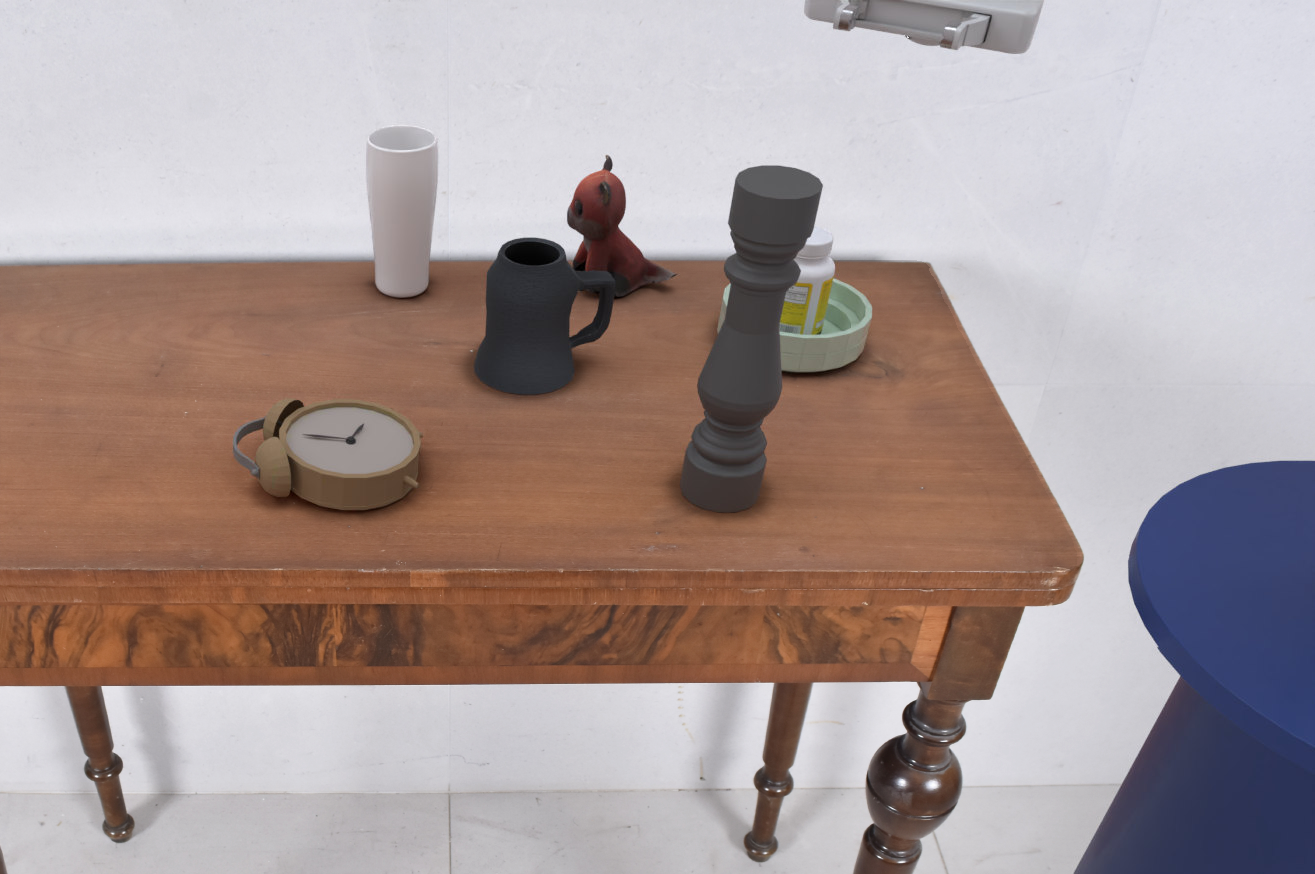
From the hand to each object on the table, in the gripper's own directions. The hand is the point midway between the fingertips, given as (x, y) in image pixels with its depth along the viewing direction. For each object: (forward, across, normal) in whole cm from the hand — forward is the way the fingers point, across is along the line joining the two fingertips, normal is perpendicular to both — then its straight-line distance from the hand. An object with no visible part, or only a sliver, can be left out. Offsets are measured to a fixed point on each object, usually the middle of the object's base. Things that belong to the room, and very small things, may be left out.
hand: (895, 29), depth 111 cm
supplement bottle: (+12, 0, +24) cm, 27 cm away
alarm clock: (+53, -23, +25) cm, 63 cm away
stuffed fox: (+11, -18, +25) cm, 33 cm away
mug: (+29, -17, +25) cm, 42 cm away
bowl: (+12, 0, +25) cm, 27 cm away
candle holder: (+38, +4, +25) cm, 46 cm away
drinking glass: (+23, -36, +25) cm, 49 cm away
